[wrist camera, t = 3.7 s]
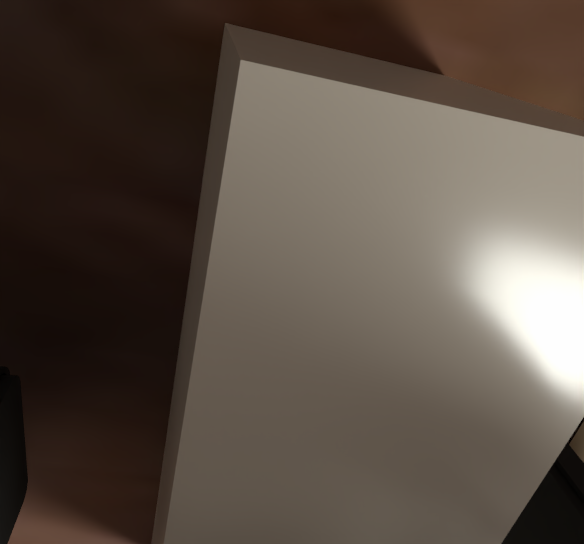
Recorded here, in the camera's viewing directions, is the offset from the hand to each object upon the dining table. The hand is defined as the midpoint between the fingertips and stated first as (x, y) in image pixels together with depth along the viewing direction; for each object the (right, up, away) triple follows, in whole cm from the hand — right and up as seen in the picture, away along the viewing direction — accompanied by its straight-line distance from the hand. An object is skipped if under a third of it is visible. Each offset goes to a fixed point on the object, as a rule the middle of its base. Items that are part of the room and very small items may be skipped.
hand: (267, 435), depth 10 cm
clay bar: (0, +1, +2) cm, 2 cm away
